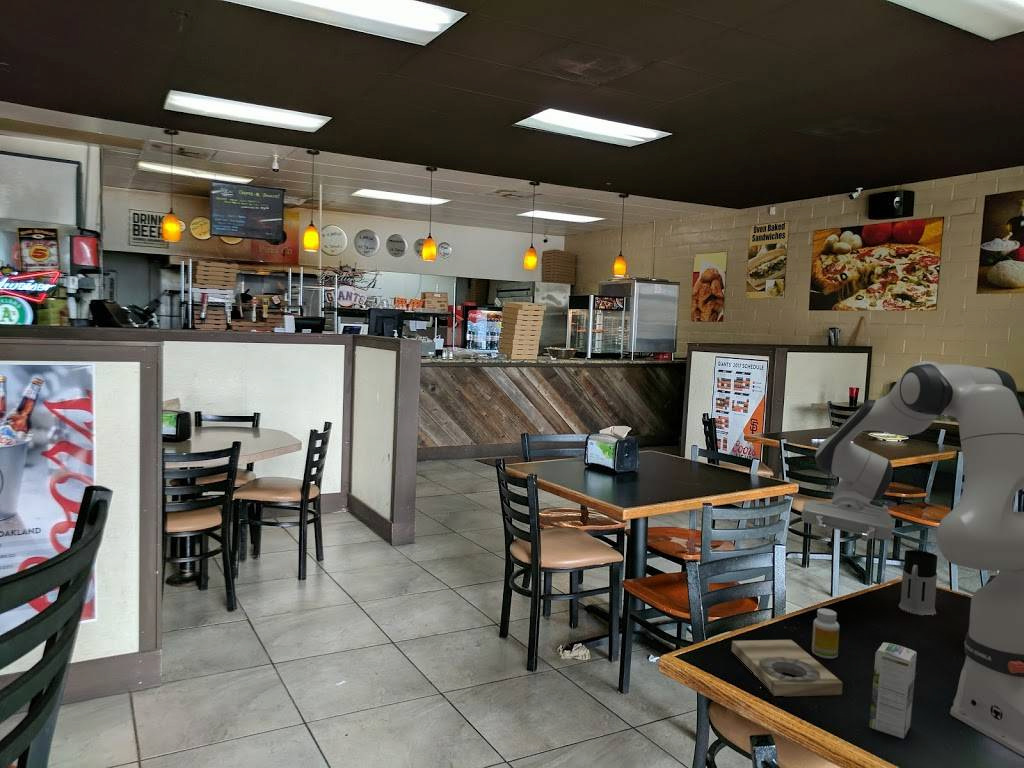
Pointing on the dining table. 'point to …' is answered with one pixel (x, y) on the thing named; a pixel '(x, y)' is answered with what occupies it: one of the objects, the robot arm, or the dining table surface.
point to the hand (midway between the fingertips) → (843, 533)
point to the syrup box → (893, 689)
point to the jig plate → (786, 668)
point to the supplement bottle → (825, 634)
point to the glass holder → (919, 582)
